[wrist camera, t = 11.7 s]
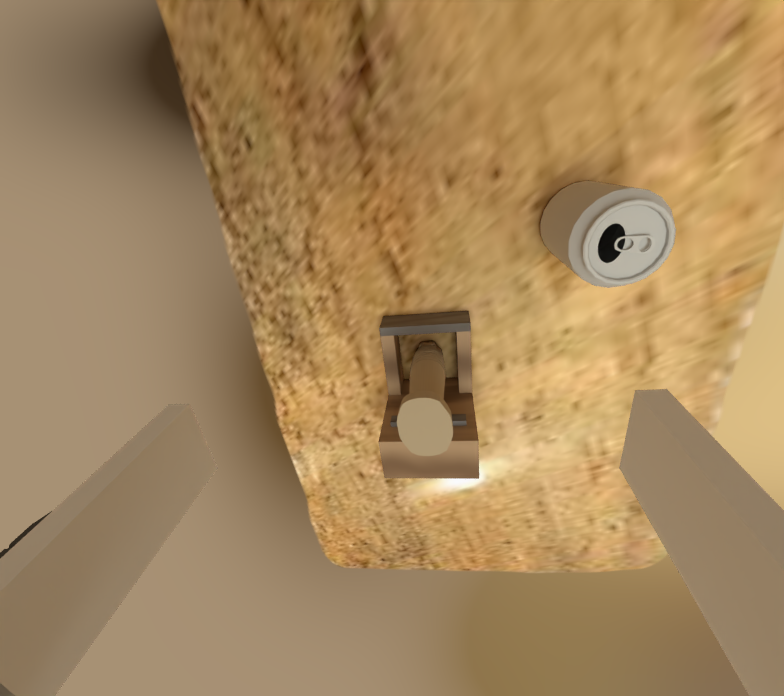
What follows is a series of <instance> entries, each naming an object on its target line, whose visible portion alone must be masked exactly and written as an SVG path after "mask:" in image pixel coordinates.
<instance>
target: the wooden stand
mask: <svg viewBox="0 0 784 696" xmlns="http://www.w3.org/2000/svg"><path fill="white" fill-rule="evenodd" d="M379 329H380V336H381V343H382V350H383V357H384V364H385V372H386V379H387V386H388V393H389V397H388V401H387V406H386V411H385V415H384V420H383V424H382V429H381V433H380V438H379V447H380V453H381V459H382V465H383V471H384V477H385V478H479V446H478V434H477V426H476V419H475V411H474V404H473V396H472V369H471V328H470V318H469V312H468V311H460V312H445V313H429V314H414V315H398V316H384V317H383V320H382V322H381V325H380V328H379ZM447 332H456V342H457V365H458V378H445V386H444V401H445V402H446V404H447V405H448V407H449V408H450V410H451V415H452V422H453V437H452V440H451V443H450V445H449V447H448V449H447V451H445V452H443V453H441V454H438V455H434V456H420V455H416V454H414V453H411V452H410V450H409V449H408V448H407V447H406V446H405V445H404V443H403V442H402V440H401V439H400V436H399V432H398V427H397V416H398V411H399V408H400V405H401V402H402V400H403V397H405V396H406V395H408V394H409V393H410V380H403V371H402V363H401V354H400V346H399V337H398V335H412V334H430V333H447Z"/></svg>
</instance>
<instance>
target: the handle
mask: <svg viewBox="0 0 784 696" xmlns="http://www.w3.org/2000/svg"><path fill="white" fill-rule="evenodd" d="M444 386H445V365H444V360H443V354H442V350H441V349H440V348H438V347H437V346H436V344H435V342H434V341H430V342H421V343H420V344H419V348H418V350H417V351H416V352H415V355H414V357H413V360H412V364H411V370H410V393H409V394H408V395H406V396H405V397H403V400H402V402H401V405H400V408H399V411H398V416H397V427H398V432H399V436H400V439H401V440H402V442H403V443H404V445H405V446H406V447H407V448H408V449H409V450H410V452H411V453H414V454H416V455H420V456H434V455H438V454H441V453H443V452H445V451H447V449H448V447H449V445H450V443H451V440H452V437H453V422H452V415H451V410H450V408H449V407H448V405H447V404H446V402H445V401H444Z"/></svg>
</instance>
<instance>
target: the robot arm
mask: <svg viewBox="0 0 784 696" xmlns="http://www.w3.org/2000/svg"><path fill="white" fill-rule="evenodd" d="M619 468H620V470H621V471H622V473H623V475H624V477H625V479H626V480H627V482H628V484H629V486H630V487H631V489H632V491H633V493H634V494H635V496H636V498H637V500H638V501H639V503H640V505H641V507H642V508H643V510H644V512H645V514H646V515H647V517H648V519H649V521H650V522H651V524H652V526H653V528H654V529H655V531H656V533H657V535H658V536H659V538H660V540H661V542H662V543H663V545H664V547H665V549H666V550H667V552H668V554H669V556H670V557H671V559H672V561H673V563H674V565H675V566H676V568H677V570H678V572H679V573H680V575H681V577H682V579H683V580H684V582H685V584H686V586H687V587H688V589H689V591H690V592H691V594H692V596H693V598H694V600H695V601H696V603H697V605H698V606H699V608H700V610H701V612H702V614H703V615H704V617H705V619H706V621H707V622H708V624H709V626H710V628H711V629H712V631H713V633H714V635H715V636H716V638H717V640H718V642H719V643H720V645H721V647H722V649H723V651H724V652H725V654H726V656H727V658H728V659H729V661H730V662H731V665H732V666H733V668H734V670H735V672H736V673H737V675H738V677H739V679H740V680H741V682H742V684H743V686H744V687H745V689H746V691H747V693H748V694H749V696H784V510H783V509H782V508H781V507H780V506H779V505H778V504H777V503H776V502H775V501H774V500H773V499H772V498H771V497H770V496H769V495H768V494H767V493H766V492H765V491H764V490H763V489H762V488H761V486H760V485H759V484H758V483H757V482H756V481H755V480H754V479H753V478H752V477H751V476H750V475H749V474H748V473H747V472H746V471H745V470H744V469H743V468H742V467H741V466H740V465H739V464H738V463H737V462H736V461H735V460H734V458H733V457H731V455H730V454H729V453H728V452H727V451H726V450H725V449H724V448H723V447H722V446H721V445H720V444H719V443H718V442H717V441H716V440H715V439H714V438H713V437H712V436H711V435H710V434H709V432H708V431H707V430H706V429H705V428H704V427H703V426H702V425H701V424H700V423H699V422H698V421H697V420H696V419H695V418H694V417H693V416H692V415H691V414H690V413H689V412H688V411H687V410H686V409H685V408H684V407H683V406H682V404H681V403H680V402H679V401H678V400H677V399H676V398H675V397H674V396H673V395H672V394H671V393H670V392H669V391H668V390H667V389H660V390H635V394H634V398H633V403H632V408H631V413H630V418H629V423H628V428H627V433H626V438H625V443H624V448H623V452H622V457H621V462H620V467H619ZM216 470H217V465H216V463H215V461H214V458H213V456H212V454H211V451H210V449H209V447H208V444H207V442H206V440H205V437H204V435H203V433H202V431H201V428H200V426H199V423H198V421H197V419H196V417H195V414H194V412H193V410H192V407H191V405H190V404H174V405H173V404H171V405H168V406H167V407H166V408H165V409H164V410H162V411H161V412H160V413H159V414H158V415H157V416H156V417H155V418H154V419H152V420H151V421H150V422H149V423H148V424H147V425H146V426H145V427H144V428H143V429H142V430H141V431H139V432H138V433H137V434H136V435H135V436H134V437H133V438H132V439H131V440H130V441H128V442H127V443H126V444H125V445H124V446H123V447H122V448H121V449H120V450H119V451H118V452H116V453H115V454H114V455H113V456H112V457H111V458H110V459H109V460H108V461H107V462H105V463H104V464H103V465H102V466H101V467H100V468H99V469H98V470H97V471H96V472H95V473H93V474H92V475H91V476H90V477H89V478H88V479H87V480H86V481H85V482H84V483H82V484H81V485H80V486H79V487H78V488H77V489H76V490H75V491H74V492H73V493H72V494H71V495H69V496H68V497H67V498H66V499H65V500H64V501H63V502H62V503H61V504H60V505H58V506H57V507H56V508H55V509H54V510H53V511H51V512H50V513H48V514H47V515H45V516H44V517H42V518H41V519H39V520H38V521H36V522H35V523H33V524H32V525H31V526H29V528H27V529H26V530H25V531H24V532H23V533H22V534H21V535H20V536H18V537H17V538H16V539H15V540H14V541H13V542H12V543H11V544H10V545H9V548H8V549H4V550H3V551H2V552H1V553H0V696H55V695H56V694H57V692H58V691H59V690H60V688H61V687H62V685H63V683H65V681H66V680H67V678H68V677H69V676H70V674H71V673H72V671H73V670H74V669H75V667H76V666H77V664H78V663H79V662H80V660H81V659H82V657H83V656H84V655H85V653H86V652H87V650H88V649H89V648H90V646H91V645H92V643H93V642H94V640H95V639H96V638H97V636H98V635H99V634H100V632H101V631H102V629H103V628H104V627H105V625H106V624H107V622H108V621H109V620H110V618H111V617H112V615H113V614H114V613H115V611H116V610H117V608H118V607H119V605H120V604H121V603H122V601H123V600H124V599H125V597H126V596H127V594H128V593H129V592H130V590H131V589H132V587H133V586H134V585H135V583H136V582H137V580H138V579H139V578H140V576H141V575H142V573H143V572H144V571H145V569H146V568H147V566H148V565H149V564H150V562H151V561H152V559H153V558H154V557H155V555H156V554H157V552H158V551H159V550H160V548H161V547H162V545H163V544H164V543H165V541H166V540H167V538H168V537H169V536H170V534H171V533H172V531H173V530H174V529H175V527H176V526H177V524H178V523H179V522H180V520H181V519H182V517H183V516H184V515H185V513H186V512H187V510H188V509H189V508H190V506H191V505H192V503H193V502H194V501H195V499H196V498H197V497H198V495H199V494H200V492H201V491H202V489H203V488H204V487H205V485H206V484H207V483H208V481H209V480H210V478H211V477H212V476H213V474H214V473H215V471H216Z"/></svg>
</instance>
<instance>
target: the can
mask: <svg viewBox="0 0 784 696" xmlns="http://www.w3.org/2000/svg"><path fill="white" fill-rule="evenodd" d="M540 230H541V237H542V240H543V242H544V245H545V246H546V247H547V248H548V249H549V250H550V252H551V253H552V254H554V255H555V256H556V257H557V258H558V259H559V260H560V261H562V262H563V263H564V264H565V265H566V266H567V267H569V268H570V269H571V270H572V271H573V272H574V273H575V274H577V275H578V276H579V277H580V278H581V279H583V280H585V281H587V282H588V283H590V284H592V285H594V286H601V287H608V288H610V287H617V286H624V285H627V284H632V283H635V282H637V281H640V280H642V279H644V278H646V277H648V276H649V275H650V274H652V273H653V272H655V271H656V270H657V269H658V268H659V267H660V266H661V265H662V264H663V262H664V261H665V260H666V259H667V258H668V256H669V254H670V252H671V249H672V247H673V245H674V241H675V233H676V229H675V225H674V220H673V215H672V211H671V209H670V207H669V206H668V205H667V203H666V202H665V201H664V199H663V198H662V197H660V196H659V195H657V194H655V193H653V192H651V191H650V190H646V189H639V188H633V187H627V186H620V185H614V184H608V183H601V182H594V181H582V182H577V183H573V184H571V185H569V186H567V187H565V188H563V189H561V190H560V191H559V192H558V193H557V194H556V195H555V196H554V197H553V198H552V199H551V200H550V202H549V203H548V205H547V206H546V208H545V210H544V212H543V215H542V219H541V222H540Z"/></svg>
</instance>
